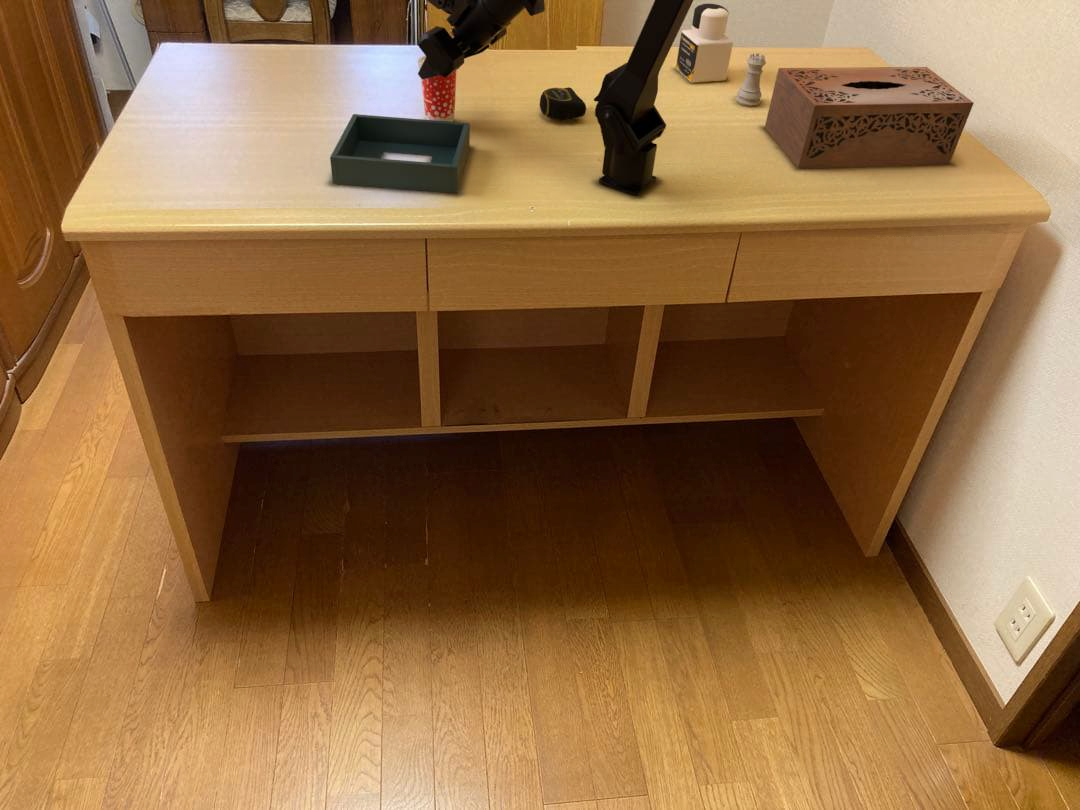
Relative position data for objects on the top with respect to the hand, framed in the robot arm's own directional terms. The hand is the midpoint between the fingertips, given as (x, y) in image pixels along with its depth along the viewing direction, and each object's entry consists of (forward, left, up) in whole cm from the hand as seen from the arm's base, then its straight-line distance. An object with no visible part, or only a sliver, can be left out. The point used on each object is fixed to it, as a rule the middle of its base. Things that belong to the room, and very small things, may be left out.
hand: (430, 69), depth 133 cm
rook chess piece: (-37, -42, -9) cm, 57 cm away
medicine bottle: (-25, -48, -9) cm, 55 cm away
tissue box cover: (-58, -37, -9) cm, 69 cm away
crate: (-6, +14, -8) cm, 18 cm away
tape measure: (-15, -16, -9) cm, 23 cm away
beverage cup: (-1, 0, -8) cm, 8 cm away
